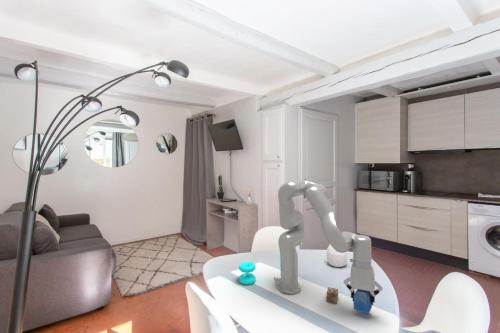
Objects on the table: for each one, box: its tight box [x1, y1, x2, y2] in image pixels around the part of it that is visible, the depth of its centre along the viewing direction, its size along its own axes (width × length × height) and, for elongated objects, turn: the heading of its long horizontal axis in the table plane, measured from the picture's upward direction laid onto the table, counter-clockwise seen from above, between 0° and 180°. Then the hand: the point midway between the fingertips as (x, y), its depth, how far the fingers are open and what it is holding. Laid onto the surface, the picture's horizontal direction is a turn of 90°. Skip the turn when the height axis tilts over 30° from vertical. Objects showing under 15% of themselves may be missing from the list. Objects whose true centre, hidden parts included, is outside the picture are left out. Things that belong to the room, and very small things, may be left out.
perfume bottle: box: [353, 289, 373, 315], centre depth 112 cm, size 6×6×12 cm
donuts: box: [238, 261, 257, 286], centre depth 145 cm, size 10×10×10 cm
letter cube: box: [326, 286, 339, 305], centre depth 124 cm, size 5×5×5 cm
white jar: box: [326, 243, 348, 268], centre depth 165 cm, size 13×13×14 cm
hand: (362, 301), depth 112 cm, fingers closed on perfume bottle, 7 cm apart
